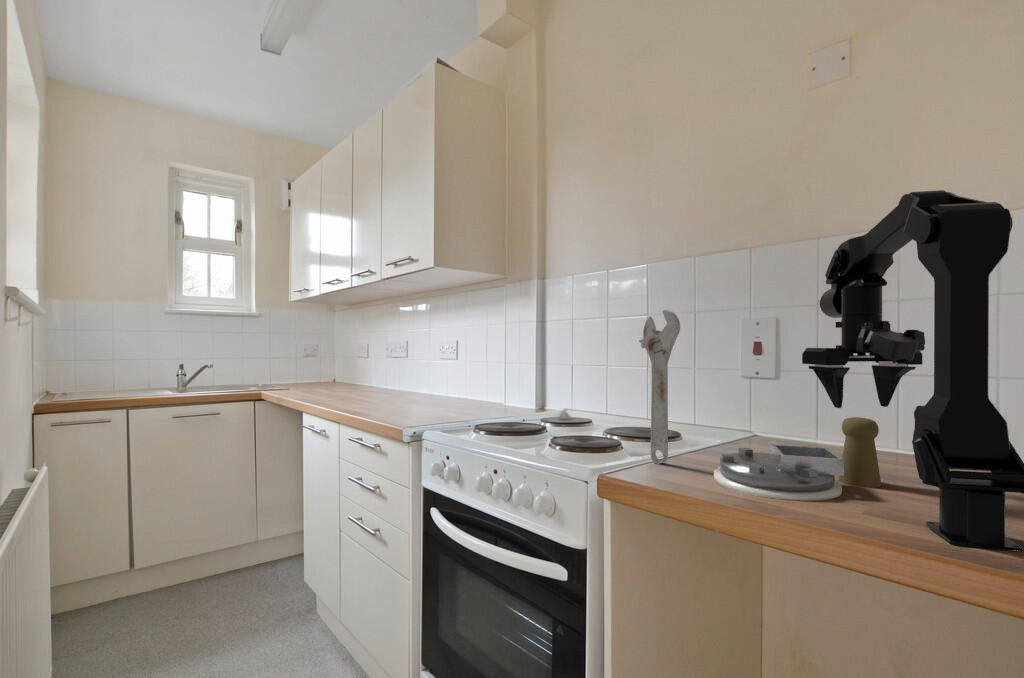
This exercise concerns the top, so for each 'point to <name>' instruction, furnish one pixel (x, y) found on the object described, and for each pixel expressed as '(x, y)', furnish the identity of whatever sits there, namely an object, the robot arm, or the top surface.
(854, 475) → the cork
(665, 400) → the wrench
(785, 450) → the grey tabbed disc
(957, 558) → the top surface
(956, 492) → the robot arm
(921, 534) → the top surface
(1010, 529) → the top surface
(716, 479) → the base plate
